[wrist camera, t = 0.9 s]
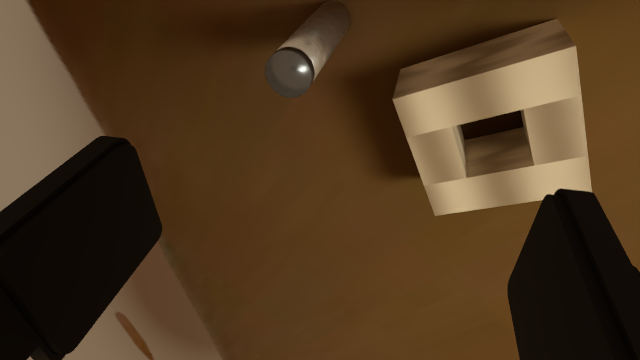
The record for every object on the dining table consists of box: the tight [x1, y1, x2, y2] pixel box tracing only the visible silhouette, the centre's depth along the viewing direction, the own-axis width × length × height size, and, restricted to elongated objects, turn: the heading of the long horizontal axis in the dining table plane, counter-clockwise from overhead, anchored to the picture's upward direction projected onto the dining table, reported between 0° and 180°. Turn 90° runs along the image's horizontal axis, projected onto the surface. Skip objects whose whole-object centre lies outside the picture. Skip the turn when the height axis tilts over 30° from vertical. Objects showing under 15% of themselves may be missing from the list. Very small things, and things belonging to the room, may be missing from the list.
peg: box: [265, 1, 350, 98], centre depth 29 cm, size 3×3×12 cm
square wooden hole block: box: [392, 19, 592, 216], centre depth 33 cm, size 12×12×6 cm
